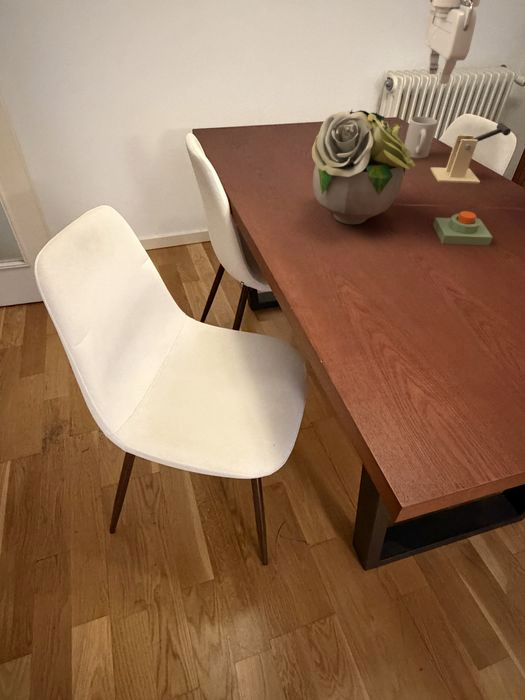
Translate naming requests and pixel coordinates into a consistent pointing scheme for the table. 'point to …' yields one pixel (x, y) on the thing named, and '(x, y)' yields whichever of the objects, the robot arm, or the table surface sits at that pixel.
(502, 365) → the table surface
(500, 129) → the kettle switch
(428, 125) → the mug
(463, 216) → the button
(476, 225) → the control block
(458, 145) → the beige bracket stand
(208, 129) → the table surface
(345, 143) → the flower arrangement
